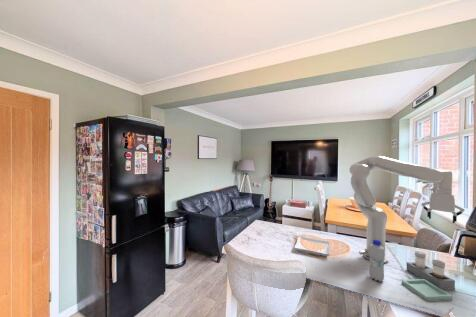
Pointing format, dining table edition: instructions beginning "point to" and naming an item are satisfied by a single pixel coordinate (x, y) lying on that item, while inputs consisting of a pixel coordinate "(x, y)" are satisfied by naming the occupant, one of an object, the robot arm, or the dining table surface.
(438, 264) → the fuse
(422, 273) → the block
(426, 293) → the tray
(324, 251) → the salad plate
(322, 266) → the dining table surface
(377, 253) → the bottle
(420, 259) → the cylinder
